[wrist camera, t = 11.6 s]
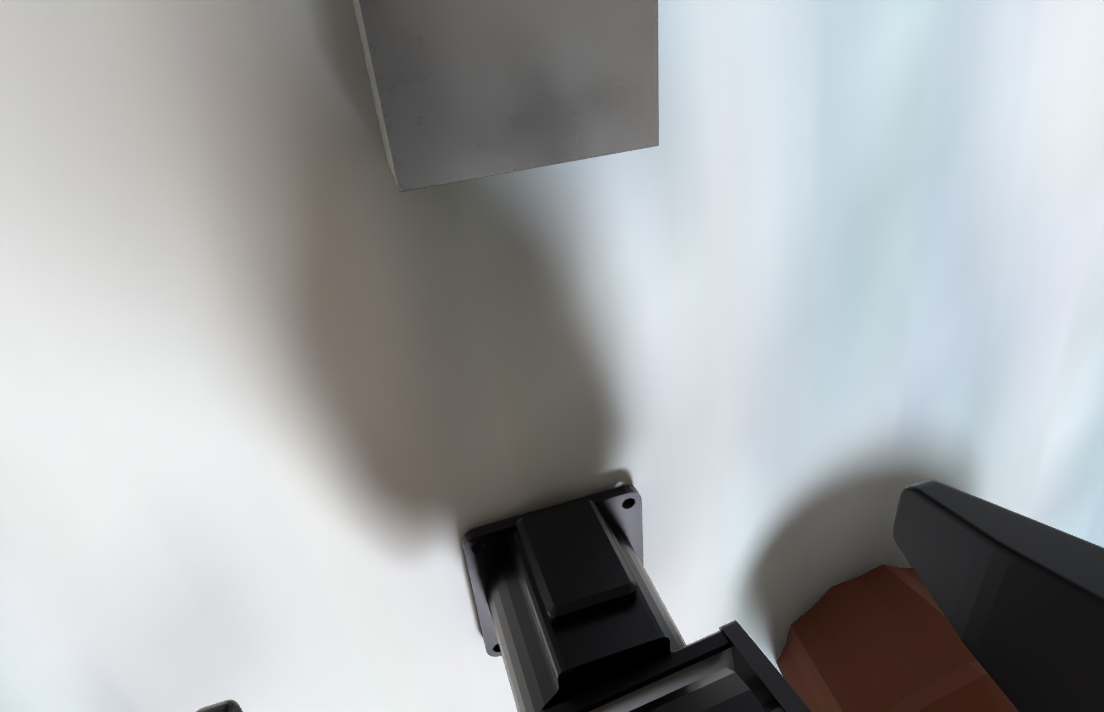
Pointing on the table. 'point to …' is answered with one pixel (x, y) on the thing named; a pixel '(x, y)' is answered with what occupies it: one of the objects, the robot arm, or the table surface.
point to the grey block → (508, 83)
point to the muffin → (884, 652)
